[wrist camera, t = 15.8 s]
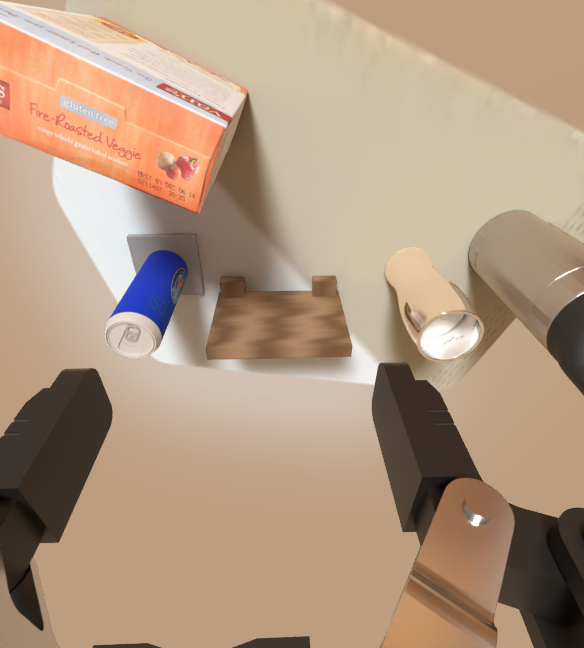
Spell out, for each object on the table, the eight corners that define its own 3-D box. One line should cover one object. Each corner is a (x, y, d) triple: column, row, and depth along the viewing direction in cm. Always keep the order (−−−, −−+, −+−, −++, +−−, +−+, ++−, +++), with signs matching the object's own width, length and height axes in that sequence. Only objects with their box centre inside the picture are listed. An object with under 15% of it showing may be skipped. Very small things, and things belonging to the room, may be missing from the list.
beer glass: (445, 262, 49) (501, 330, 37) (406, 299, 52) (446, 373, 40) (408, 232, 47) (455, 296, 35) (370, 273, 50) (400, 344, 38)
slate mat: (195, 234, 46) (194, 236, 45) (204, 291, 50) (203, 294, 50) (128, 234, 46) (126, 237, 45) (143, 291, 50) (142, 295, 50)
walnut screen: (338, 275, 50) (354, 329, 40) (335, 313, 53) (349, 371, 44) (217, 277, 49) (203, 332, 40) (222, 315, 53) (210, 374, 43)
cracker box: (93, 87, 37) (-63, 116, 20) (103, 14, 34) (-73, -25, 17) (230, 150, 41) (198, 220, 24) (250, 90, 37) (229, 121, 20)
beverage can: (183, 289, 49) (153, 367, 37) (143, 276, 48) (98, 352, 36) (193, 256, 47) (164, 328, 34) (151, 241, 45) (105, 310, 33)
